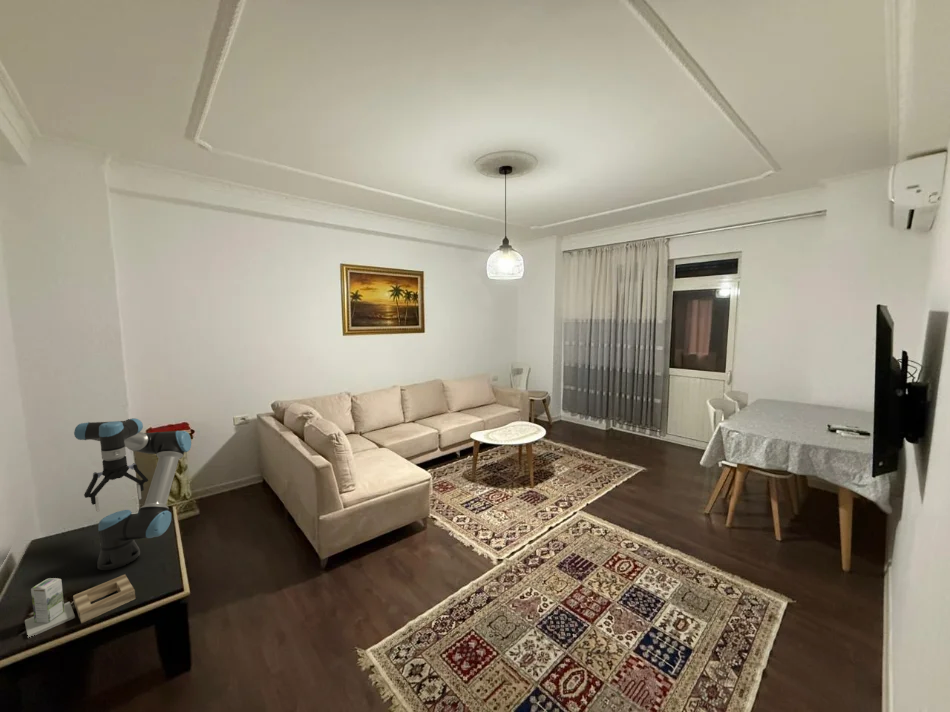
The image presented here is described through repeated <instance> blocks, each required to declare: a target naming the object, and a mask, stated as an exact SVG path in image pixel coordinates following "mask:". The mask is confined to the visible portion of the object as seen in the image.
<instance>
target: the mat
mask: <svg viewBox="0 0 950 712" xmlns="http://www.w3.org/2000/svg"><path fill="white" fill-rule="evenodd" d="M73 619H76V615H75V613H74V610H73V608H72V604H71V602H70V601H67V602H64V612H63V613H62V614H60V615H59V616H58V617H56V618H55V619H53V620H52V621H51V622H49V623H35V621H34V616H31V617H30V618H27V619H25V620H24V624H25V629H26V635H28V636H27V638H28V639H30V638H32V637H31V636H33V637H35V636H36V635H39V634H41V633H44V632H46V631H48V630H50V629H53V628H54V627H57V626H60V625H62V624H64V623H66V622H68V621H71V620H73ZM34 635H35V636H34ZM29 637H30V638H29Z"/></svg>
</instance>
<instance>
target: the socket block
mask: <svg viewBox="0 0 950 712" xmlns="http://www.w3.org/2000/svg"><path fill="white" fill-rule="evenodd" d="M115 592H116V593H115ZM112 593H114V594H112ZM110 594H112V595H110ZM108 595H110V596H108ZM106 596H107V597H106ZM104 597H105V598H104ZM72 598H73V599H72V600H73V605H74V607H75V611H76V613H77V616H78V619H79V621H80V624H83V623H86V622H87V621H90V620H92V619H94V618H97V617H99V616H101V615H103V614H105V613H108V612H110V611H113V610H114V609H117V608H119V607H121V606H123V605H125V604H127V603H129V602H131V601H134V600H135V599H136V590H135V588H134V586H133V585H132V584H131V582H130V580H129V578H128V577H127V575H126V574H121V575H120V576H118V577H115V578H112V579H110V580H108V581H105V582H103V583H101V584H97V585H95V586H93V587H91V588H88V589H86V590H83V591H81V592H79V593H76V594H74V595H73V596H72ZM101 598H103V599H101ZM98 599H100V600H98ZM97 600H98V601H97ZM94 601H96V602H94ZM92 602H93V603H92Z"/></svg>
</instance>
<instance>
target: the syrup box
mask: <svg viewBox="0 0 950 712" xmlns="http://www.w3.org/2000/svg"><path fill="white" fill-rule="evenodd" d="M30 592H31V593H30V594H31V603H32V610H33V611H32V612H33V617H34V621H35V623H49V622H51V621H52V620H53V619H55V618H56V617H58V616H59V615H60V614H62V613H63V612H64V604H65V602H64V593H63V592H64V591H63V583H62V579H61V578H58V577H57V578H56V577H55V578H54V577H53V578H51V577H49V578H46V579H45V580H43V581H41V582H39V583H38V584H36V585H35V586H32V588H30Z"/></svg>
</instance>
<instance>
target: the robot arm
mask: <svg viewBox="0 0 950 712" xmlns="http://www.w3.org/2000/svg"><path fill="white" fill-rule="evenodd" d="M143 428H144V424H143V422H142V421H141V420H140V419H138V418H130V419H129V418H127V419H126V420H114V421H96V422H95V421H94V422H89V421H87V422H81V423H79V424H77V425H76V427H75V428H74V431H73V434H74V437H75V439H77V440H79V441H88V440H89V441H90V440H92V441H96V442H100V452H101V453H100V454H101V459H102V461H101V462H102V463H101V464H102V471H101V472H95V471H94V472H93V473H92V479H91V481H90V483H89V485H88V487H87V488H86V490H85V492H84V494H83V496H84V498H90V502H91V505H95V510H96V512H97V513H98V512H100V505H99V503H100V502H99V496H98V495H97V494H99V492H100V491H101V490H102V489H103V487H105V485H106V484H107V483H108V482H109V481H110V480H111V481H114V480H115V481H116V480H117V479H122V478H123V477H125V478H127V479H129V480H131V481H133V482H135V483H136V492H137V498H138V500H141V499H142V498H143V497H142V492H143V491H144V490H145V489H144V483H147V482H149V479H148V478H147V477H146V475H145V474H143V472H142V471H141V470H140V469H139V468H138V464H136V463H135V462H134V463H132V464H130V465H128V459H127V456H126V455H127V452H126V448H127V449H128V450H129V451H133V452H137V453H142V454H149V455H155V454H156V457H157V458H158V460H157V463H156V467H155V469H154V473H153V476H152V479H151V482H150V486H149V489H148V492H147V495H146V497H145V498H146V499H145V502H144V505H142V506H141V507H139V508H138V512H137V513H132V510H130V509H123V510H120V511H119V510H118V511H115V512H113V513H110V514H108V515H106V516H105V517H103V518H102V519H100V520H99V522H98V530H97V531H98V534H99V545H100V552H99V555H98V559H97V562H96V564H97V570H99V571H109V570H115V569H119V568H122V567H124V566H127V565H128V564H131V563H133V562H134V561H135V560H137V559H138V558H139V557H140V555H141V550H140V547H139V546H138V544H137V542H136V541H135V540H141V539H152V538H158V537H160V536H162V535H163V534H165V532H166V531H167V530H168V529H169V527H170V525H171V522H172V512H171V511H169V509H170V508H169V506H167V502H168V499H169V496H170V492H171V489H172V485H173V481H174V478H175V474H176V470H177V468H178V463H179V461H180V460H181V459H183V457H184V454H185V453H188V452H189V451H190V450H191V448H192V438H191V435H190V433H189V432H188V431H185V430H173V431H172V430H171V431H157V432H156V431H154V432H141V431H142V430H143ZM129 469H130V470H134V471H135V472H136V474H137V475H138V476H140V478H141V479H140V478H138V477H137V476H134V475H132V474H131V473H129V472H128V471H129ZM102 476H103V479H102V480H101V481H100V483H98V485H97V486H96V487H95V485H96V484H97V481H98V479H99V478H100V477H102ZM94 487H95V488H94ZM93 489H94V490H93ZM138 556H139V557H138ZM137 557H138V558H137ZM136 558H137V559H136ZM130 562H131V563H130ZM126 564H127V565H126Z"/></svg>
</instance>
